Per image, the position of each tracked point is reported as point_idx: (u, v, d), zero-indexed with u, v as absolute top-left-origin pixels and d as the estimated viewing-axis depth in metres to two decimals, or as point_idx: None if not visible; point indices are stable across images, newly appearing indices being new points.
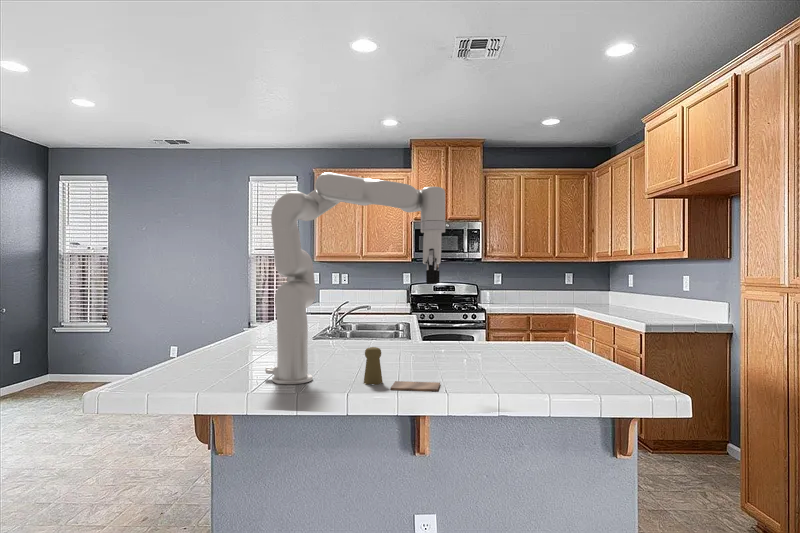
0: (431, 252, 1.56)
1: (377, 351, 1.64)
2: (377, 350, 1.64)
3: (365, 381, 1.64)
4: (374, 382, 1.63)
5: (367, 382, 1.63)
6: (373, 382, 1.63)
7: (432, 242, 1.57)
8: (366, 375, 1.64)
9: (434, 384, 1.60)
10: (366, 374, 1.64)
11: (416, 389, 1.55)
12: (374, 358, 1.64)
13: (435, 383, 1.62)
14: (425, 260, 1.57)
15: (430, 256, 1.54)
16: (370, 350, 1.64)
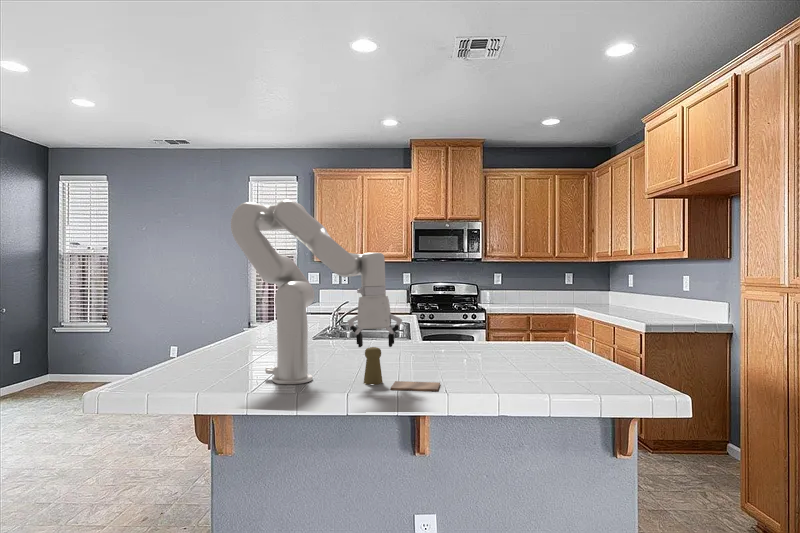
0: (395, 316, 1.65)
1: (377, 351, 1.64)
2: (377, 350, 1.64)
3: (365, 381, 1.64)
4: (374, 382, 1.63)
5: (367, 382, 1.63)
6: (373, 382, 1.63)
7: (389, 306, 1.65)
8: (366, 375, 1.64)
9: (434, 384, 1.60)
10: (366, 374, 1.64)
11: (416, 389, 1.55)
12: (374, 358, 1.64)
13: (435, 383, 1.62)
14: (389, 324, 1.63)
15: (401, 320, 1.65)
16: (370, 350, 1.64)
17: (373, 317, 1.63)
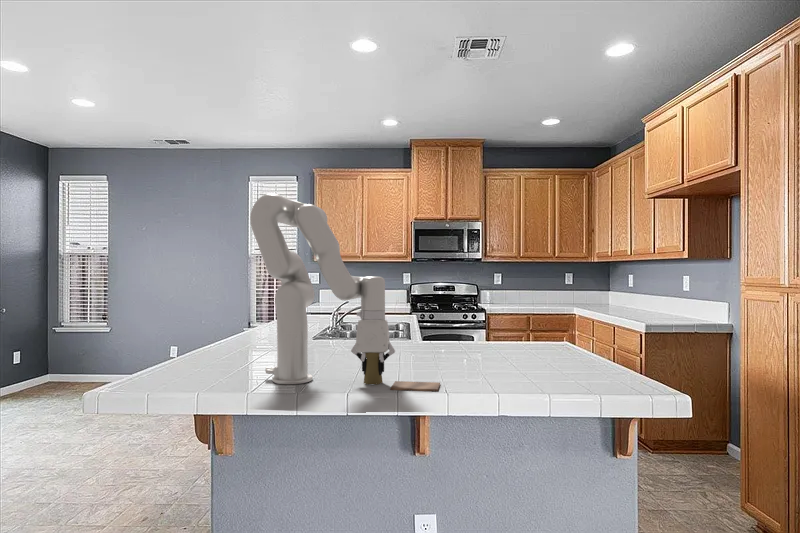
0: (391, 345, 1.65)
1: None
2: None
3: (365, 381, 1.64)
4: (374, 382, 1.63)
5: (367, 382, 1.63)
6: (373, 382, 1.63)
7: (388, 331, 1.65)
8: (366, 375, 1.64)
9: (434, 384, 1.60)
10: (366, 374, 1.64)
11: (416, 389, 1.55)
12: (374, 358, 1.64)
13: (435, 383, 1.62)
14: (387, 349, 1.63)
15: (394, 351, 1.65)
16: None
17: (372, 341, 1.63)
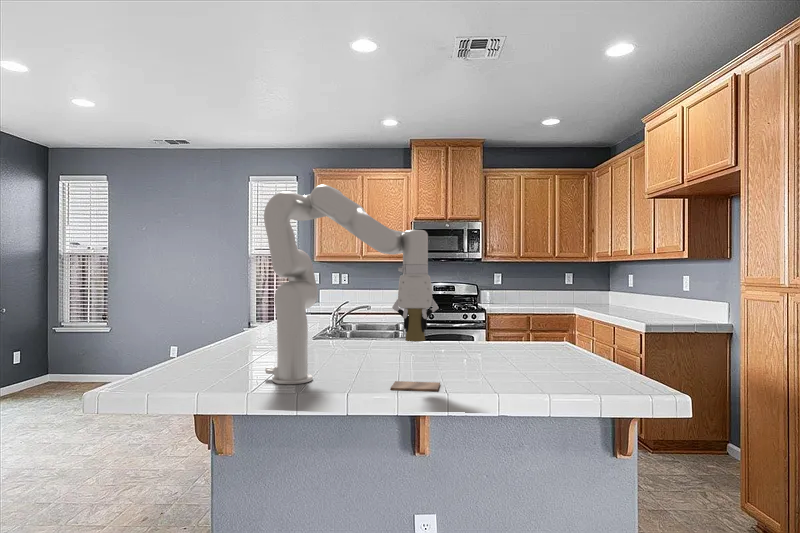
0: (434, 301, 1.59)
1: None
2: None
3: (407, 338, 1.58)
4: (417, 339, 1.57)
5: (410, 339, 1.57)
6: (416, 339, 1.57)
7: (431, 286, 1.59)
8: (408, 332, 1.58)
9: (434, 384, 1.60)
10: (408, 331, 1.58)
11: (416, 389, 1.55)
12: (417, 314, 1.57)
13: (435, 383, 1.62)
14: (431, 305, 1.57)
15: None
16: None
17: (414, 297, 1.57)
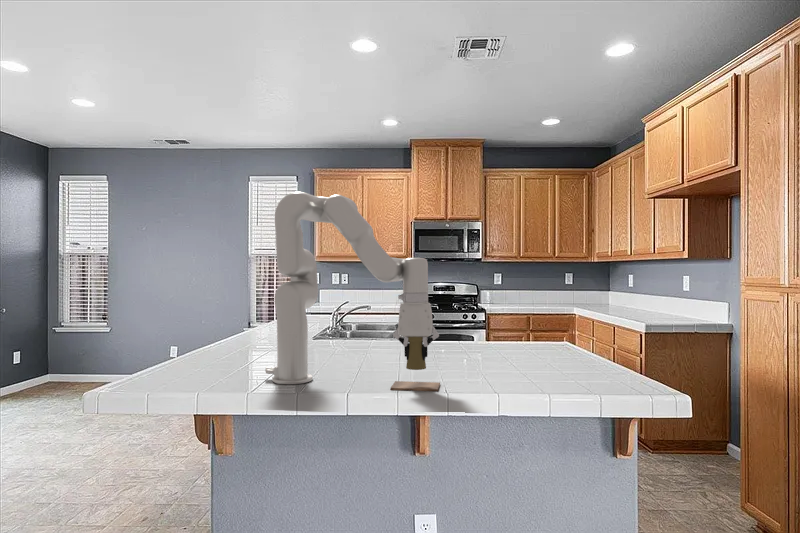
0: (435, 329, 1.59)
1: None
2: None
3: (408, 366, 1.58)
4: (418, 367, 1.57)
5: (410, 367, 1.57)
6: (417, 367, 1.57)
7: None
8: (409, 360, 1.58)
9: (434, 384, 1.60)
10: (409, 359, 1.58)
11: (416, 389, 1.55)
12: (417, 342, 1.57)
13: (435, 383, 1.62)
14: (431, 333, 1.57)
15: (438, 335, 1.58)
16: None
17: (415, 325, 1.57)
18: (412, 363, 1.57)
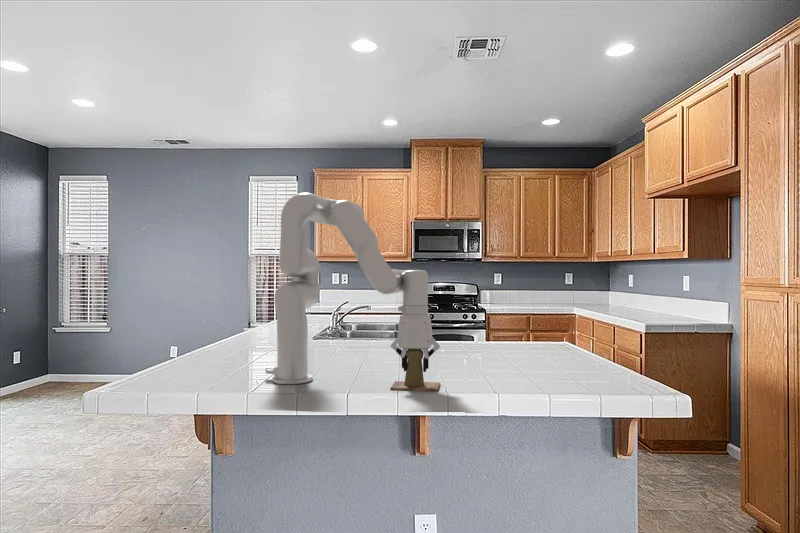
0: (435, 340, 1.59)
1: (420, 352, 1.58)
2: (419, 351, 1.58)
3: (406, 383, 1.58)
4: (416, 384, 1.57)
5: (409, 384, 1.57)
6: (415, 384, 1.57)
7: (431, 326, 1.59)
8: (407, 377, 1.58)
9: (434, 384, 1.60)
10: (407, 376, 1.58)
11: (416, 389, 1.55)
12: (416, 359, 1.57)
13: (435, 383, 1.62)
14: None
15: (439, 347, 1.58)
16: (412, 351, 1.57)
17: (414, 337, 1.57)
18: (410, 380, 1.57)
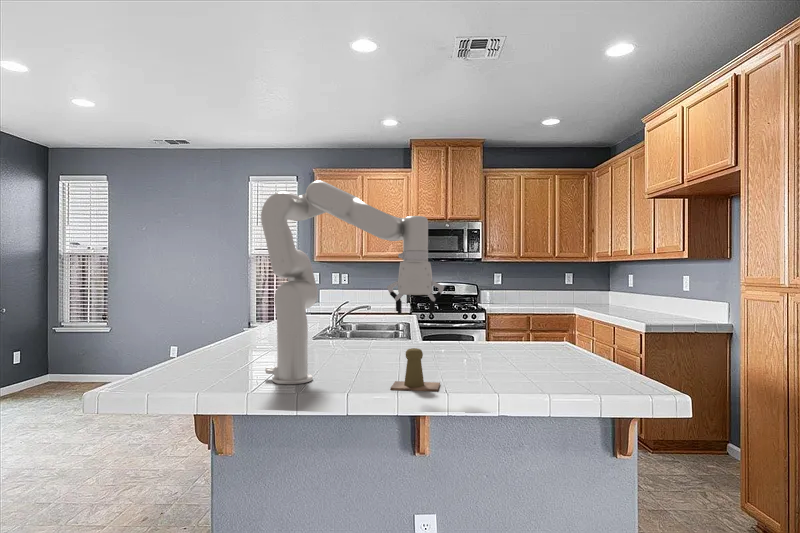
0: (437, 283, 1.59)
1: (419, 352, 1.58)
2: (419, 351, 1.58)
3: (406, 384, 1.58)
4: (416, 385, 1.57)
5: (409, 385, 1.57)
6: (415, 385, 1.57)
7: None
8: (407, 377, 1.58)
9: (434, 384, 1.60)
10: (407, 376, 1.58)
11: (416, 389, 1.55)
12: (416, 360, 1.57)
13: (435, 383, 1.62)
14: (431, 291, 1.57)
15: (443, 287, 1.58)
16: (412, 351, 1.57)
17: (415, 283, 1.57)
18: (410, 380, 1.57)
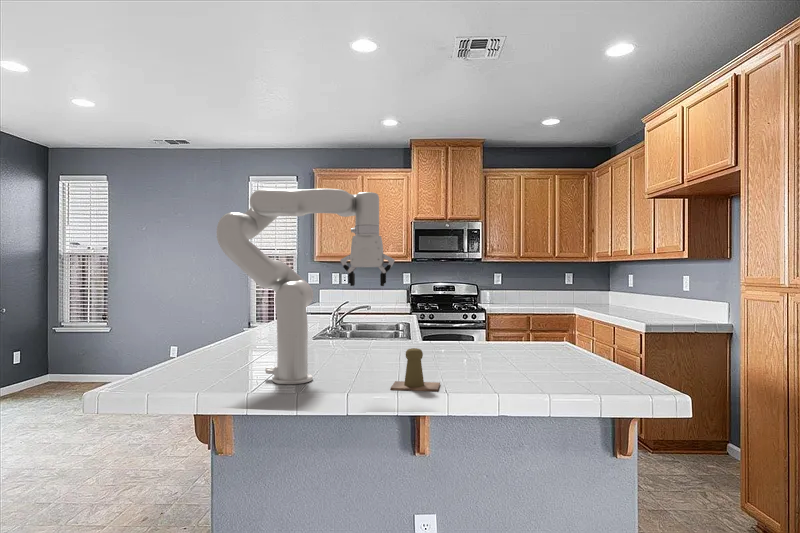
0: (388, 256, 1.66)
1: (419, 352, 1.58)
2: (419, 351, 1.58)
3: (406, 384, 1.58)
4: (416, 385, 1.57)
5: (409, 385, 1.57)
6: (415, 385, 1.57)
7: (382, 246, 1.67)
8: (407, 377, 1.58)
9: (434, 384, 1.60)
10: (407, 376, 1.58)
11: (416, 389, 1.55)
12: (416, 360, 1.57)
13: (435, 383, 1.62)
14: (381, 263, 1.65)
15: (394, 260, 1.66)
16: (412, 351, 1.57)
17: (366, 255, 1.64)
18: (410, 380, 1.57)
